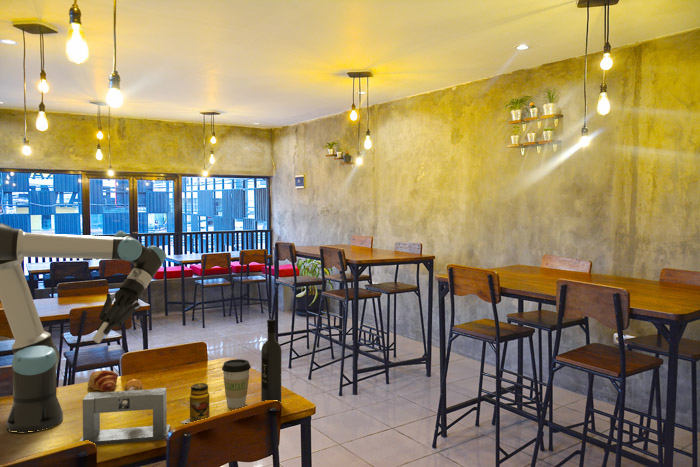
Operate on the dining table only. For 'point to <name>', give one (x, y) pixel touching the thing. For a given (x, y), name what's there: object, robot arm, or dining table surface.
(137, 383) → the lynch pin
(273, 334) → the wine bottle
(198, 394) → the condiment
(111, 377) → the croissant
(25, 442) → the dining table surface
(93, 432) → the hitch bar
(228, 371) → the coffee cup
